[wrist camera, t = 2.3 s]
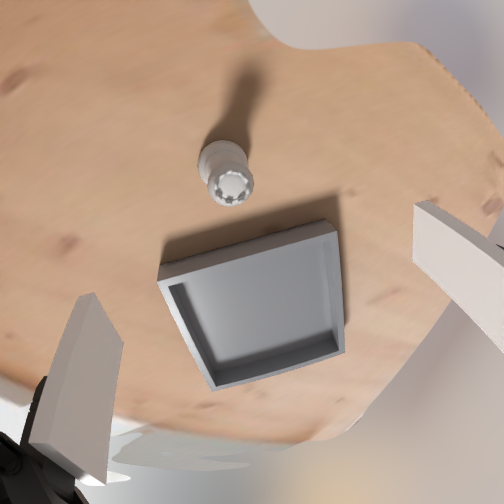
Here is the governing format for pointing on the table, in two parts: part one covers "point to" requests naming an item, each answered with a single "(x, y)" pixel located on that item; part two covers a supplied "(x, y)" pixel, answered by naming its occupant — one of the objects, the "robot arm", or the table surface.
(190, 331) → the tray
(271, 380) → the table surface
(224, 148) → the rook chess piece
